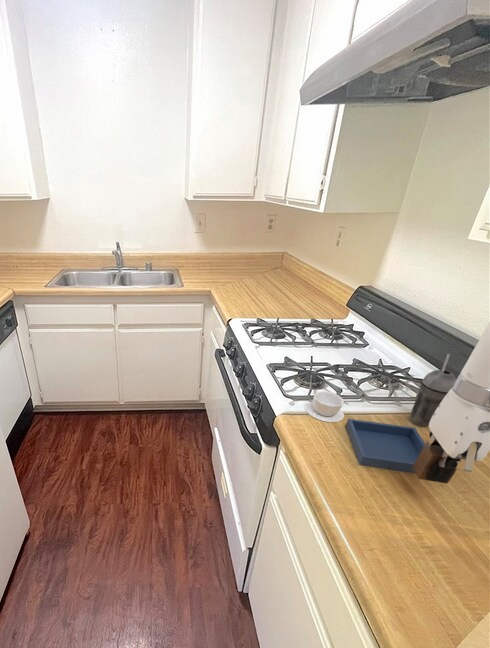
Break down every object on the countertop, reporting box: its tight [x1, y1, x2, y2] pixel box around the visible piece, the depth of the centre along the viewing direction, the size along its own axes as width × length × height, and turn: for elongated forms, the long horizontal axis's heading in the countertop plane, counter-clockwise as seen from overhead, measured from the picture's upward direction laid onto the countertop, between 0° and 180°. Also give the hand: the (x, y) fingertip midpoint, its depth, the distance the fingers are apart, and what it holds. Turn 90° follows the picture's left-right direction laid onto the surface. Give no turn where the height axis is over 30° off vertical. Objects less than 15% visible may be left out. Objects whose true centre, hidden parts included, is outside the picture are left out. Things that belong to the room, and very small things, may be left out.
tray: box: [344, 418, 426, 475], centre depth 81 cm, size 16×15×3 cm
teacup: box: [304, 390, 345, 423], centre depth 93 cm, size 10×10×5 cm
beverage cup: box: [408, 353, 457, 428], centre depth 86 cm, size 7×7×20 cm
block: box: [412, 443, 457, 484], centre depth 64 cm, size 5×3×6 cm, turn 78°
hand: (431, 472), depth 65 cm, fingers closed on block, 3 cm apart
